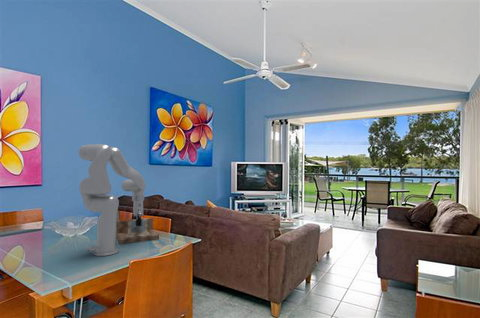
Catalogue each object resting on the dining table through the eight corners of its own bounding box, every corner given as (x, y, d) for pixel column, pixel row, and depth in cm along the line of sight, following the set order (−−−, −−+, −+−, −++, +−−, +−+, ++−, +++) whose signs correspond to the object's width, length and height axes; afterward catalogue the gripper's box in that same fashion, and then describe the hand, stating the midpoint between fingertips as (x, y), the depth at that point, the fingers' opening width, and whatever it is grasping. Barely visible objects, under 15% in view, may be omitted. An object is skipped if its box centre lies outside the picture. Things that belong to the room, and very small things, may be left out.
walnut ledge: (119, 244, 164) (119, 227, 164) (115, 237, 181) (116, 221, 182) (159, 239, 176) (159, 223, 177) (152, 232, 193) (152, 218, 194)
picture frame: (128, 236, 172) (128, 220, 173) (127, 234, 177) (127, 219, 177) (147, 234, 178) (148, 219, 179) (146, 232, 183) (146, 217, 183)
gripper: (146, 199, 172) (145, 226, 171) (141, 197, 187) (140, 222, 186) (134, 199, 168) (133, 227, 167) (130, 197, 183) (129, 222, 182)
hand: (137, 224), depth 177 cm, fingers open, 9 cm apart
